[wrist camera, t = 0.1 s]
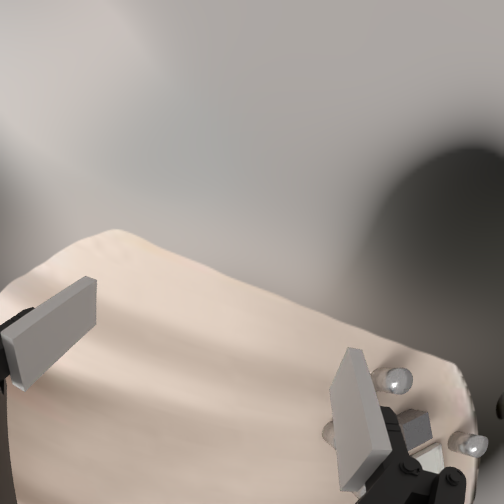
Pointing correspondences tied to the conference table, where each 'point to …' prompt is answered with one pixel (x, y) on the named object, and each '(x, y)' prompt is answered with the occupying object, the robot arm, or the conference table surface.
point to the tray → (431, 458)
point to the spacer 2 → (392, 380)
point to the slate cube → (415, 427)
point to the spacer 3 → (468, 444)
